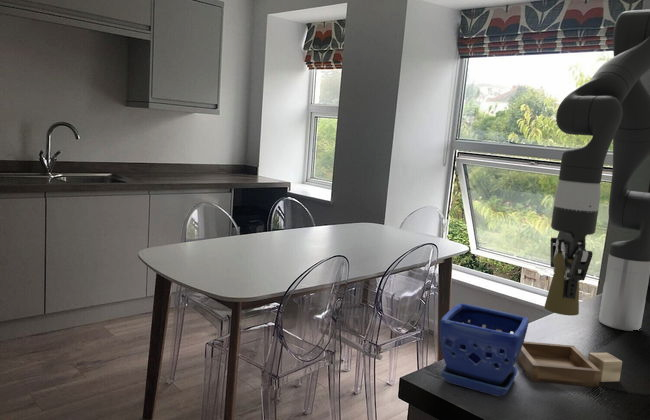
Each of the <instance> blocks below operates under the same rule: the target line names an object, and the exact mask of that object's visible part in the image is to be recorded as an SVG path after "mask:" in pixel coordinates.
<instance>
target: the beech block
mask: <svg viewBox="0 0 650 420" xmlns="http://www.w3.org/2000/svg"><path fill="white" fill-rule="evenodd" d="M587 359H588V360H589V361H590V362H591V363H593V364H594V365H595V366H596V367H597V368H598V369H599V370H600V371H601V374H600V380H599V383H600V382H602V383H605V382H620V380H621V373H622V368H623V367H622V365H623V361H622V360H621V359H620V358H617V357H616V356H614V355H612V354H610V353H609V352H588V358H587Z"/></svg>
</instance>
